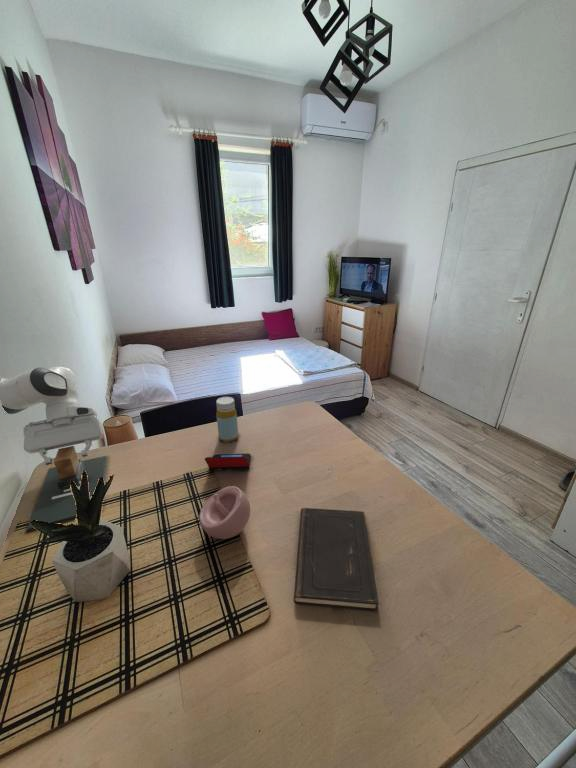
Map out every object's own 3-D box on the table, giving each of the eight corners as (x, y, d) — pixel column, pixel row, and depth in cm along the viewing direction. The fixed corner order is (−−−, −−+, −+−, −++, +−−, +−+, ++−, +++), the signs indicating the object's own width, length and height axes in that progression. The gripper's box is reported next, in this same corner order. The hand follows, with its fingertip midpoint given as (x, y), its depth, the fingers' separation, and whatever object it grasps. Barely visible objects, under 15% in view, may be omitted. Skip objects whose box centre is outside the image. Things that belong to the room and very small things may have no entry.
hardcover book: (363, 518, 83) (364, 511, 82) (377, 611, 62) (378, 603, 61) (300, 514, 84) (300, 507, 83) (293, 604, 63) (293, 596, 62)
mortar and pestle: (201, 516, 84) (196, 481, 79) (247, 507, 86) (245, 472, 82) (202, 556, 73) (196, 517, 69) (254, 544, 76) (252, 506, 71)
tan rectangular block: (58, 488, 93) (50, 465, 90) (64, 468, 101) (57, 446, 98) (78, 483, 95) (71, 460, 92) (83, 464, 103) (76, 442, 100)
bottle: (224, 431, 122) (221, 395, 117) (241, 433, 120) (238, 397, 114) (215, 440, 116) (211, 403, 110) (233, 444, 114) (229, 406, 108)
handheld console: (251, 456, 108) (250, 436, 105) (248, 477, 98) (246, 457, 95) (213, 456, 108) (211, 437, 105) (206, 478, 98) (203, 457, 95)
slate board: (27, 531, 80) (26, 529, 80) (50, 470, 102) (49, 468, 101) (100, 511, 86) (100, 508, 86) (107, 457, 108) (106, 455, 107)
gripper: (18, 420, 95) (20, 467, 90) (97, 407, 102) (102, 449, 98) (27, 426, 100) (29, 471, 96) (102, 413, 108) (107, 453, 103)
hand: (67, 460), depth 97 cm, fingers open, 8 cm apart
